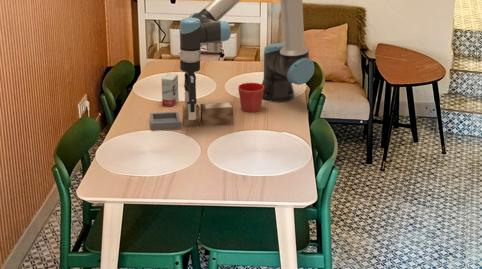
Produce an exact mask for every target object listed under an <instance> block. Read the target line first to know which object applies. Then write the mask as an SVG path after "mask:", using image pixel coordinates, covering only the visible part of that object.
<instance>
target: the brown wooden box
mask: <svg viewBox="0 0 482 269" xmlns="http://www.w3.org/2000/svg"><path fill="white" fill-rule="evenodd" d="M199 109H200V124H201V126H202V127H210V126H214V127H215V126H228V125H229V126H230V125H233V126H234V106H233V104H232V102H212V103H209V102H206V103H200V107H199Z"/></svg>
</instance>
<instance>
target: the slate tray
mask: <svg viewBox="0 0 482 269" xmlns="http://www.w3.org/2000/svg"><path fill="white" fill-rule="evenodd" d="M149 122H150V128H151V131H165V130H167V131H168V130H180V129H182V128H181V124H182V123H181V119H180V114H179V111H169V112H167V111H166V112H150V113H149Z"/></svg>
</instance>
